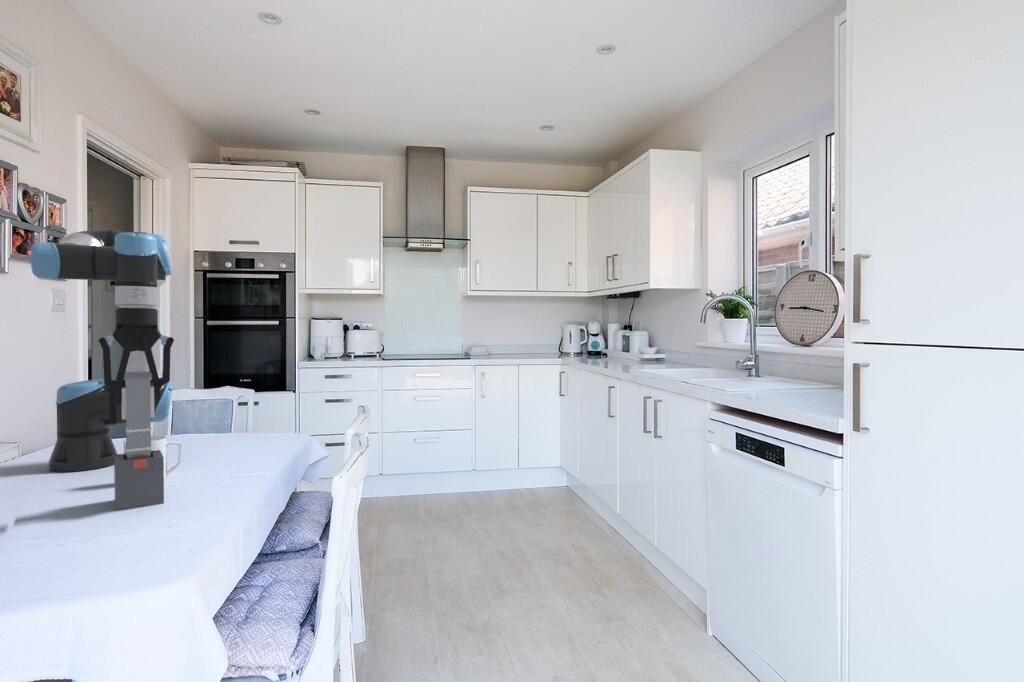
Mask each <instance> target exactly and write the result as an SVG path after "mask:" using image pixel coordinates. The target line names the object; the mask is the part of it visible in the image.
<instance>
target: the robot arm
mask: <svg viewBox="0 0 1024 682" xmlns="http://www.w3.org/2000/svg"><path fill="white" fill-rule="evenodd" d="M170 260H171V259H170V253H169V248H168V243H167V239H166V237H165V236H163V235H161V234H158V233H150V232H147V231H146V232H141V231H139V232H138V231H126V230H109V229H90V230H89V229H88V230H82V231H77V232H71V233H70V234H68V235H65V236H63V238H62V239H61V240H60V241H59V242H52V241H48V242H35V243H33V244H32V245H31V248H30V268H31V272H32V274H33V276H34V277H36V278H38V279H39V278H41V279H50V280H82V281H84V280H86V281H88V280H89V281H102V282H104V281H106V282H107V281H108V282H115V283H114V284H115V285H114V300H115V301H114V302H115V303H114V304H115V305H116V306H118V307H117V308H116V309H115V317H114V319H115V321H114V322H115V328H114V331H112V334H110V335H107V336H105V337H99V338H98V342H99V345H100V347H101V349H102V357H103V358H102V362H103V364H102V365H103V378H96V379H87V380H82V381H75V382H69V383H67V384H63V385H61V386H59V387H58V389H57V390H56V402H55V405H56V442H55V444H54V447H53V450H52V452H51V454H50V458H49V460H48V470H49V471H52V472H58V473H59V472H60V473H61V472H63V473H64V472H66V473H67V472H69V473H70V472H79V471H80V472H81V471H90V470H91V471H92V470H95V469H101V468H106V467H110V466H112V465H113V466H114V455H117V454H118V452H117V449H116V446H115V444H114V442H113V439H112V437H111V430H110V429H111V427H110V426H117V425H118V426H120V425H126V419H127V416H126V387H125V379H124V373H125V372H143V371H150V372H152V378H150V411H151V423H157V422H162V421H165V420H166V419H167V418H168V416H169V413H170V408H171V407H170V406H171V399H172V391H173V382H172V380H171V348H172V347H173V346H172V345H173V343H174V342H175V338H174V337H172V336H166V335H163V334H162V333H161V309H160V308H161V306H160V305H161V298H160V297H161V293H160V291H161V290H160V288H161V286H162V285H163V284H164V283H166V281H167V279H166V278H167V277H168V276H171V275H172V268H171V267H172V266H171V261H170ZM166 276H167V277H166ZM114 340H115V341H116V342H117V343H118V344H119V346H120V347H121V348H122V353H121V356H120V357H121V358H120V362H119V365H118V370H117V374H116V377H115V380H114V379H112V368H111V367H112V365H111V348H110V347H111V346H113V341H114ZM161 346H163V348H162V370H161Z"/></svg>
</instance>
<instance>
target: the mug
mask: <svg viewBox="0 0 1024 682" xmlns="http://www.w3.org/2000/svg"><path fill="white" fill-rule="evenodd" d="M167 439H168V437H167V436H166V435H163V434H162V435H161V434H160V435H159V434H157V435H156V434H154V435H153V434H151V451H155V450H160V451H161V453H162V455H163V459H164V480H165V479H167V478H168V475H169V474H170V473H171V472H172V471H174V470H176V469H177V468H178V467H179V466H180V464H181V459H182V458H181V457H182V454H181V453H182V442H178V441H170V442H168V440H167ZM170 445H177V446H178V458H177V463H176V464H175V465H173V466H172V467H171V468H169V469H168V452H167V448H168V447H169V446H170ZM123 454H126V438H125V439H124V440H123Z"/></svg>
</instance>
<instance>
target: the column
mask: <svg viewBox="0 0 1024 682" xmlns="http://www.w3.org/2000/svg"><path fill="white" fill-rule="evenodd" d="M150 378H152V372H150V371H143V372H125V373H124V379H125V387H126V416H127V419H126V424H125V428H124V429H125V439H126V460H129V459H138V458H147V457H151V435H152V432H151V431H152V427H151V426H152V425H151V424H152V422H151V411H150Z"/></svg>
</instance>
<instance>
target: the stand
mask: <svg viewBox="0 0 1024 682" xmlns="http://www.w3.org/2000/svg"><path fill="white" fill-rule="evenodd" d="M113 467H114V468H113V473H114V475H113V477H114V479H113V480H114V481H113V482H114V484H113V485H114V507H115V511H116V512H117V511H122V510H129V509H137V508H143V507H149V506H150V507H151V506H157V505H163V504H165V488H164V487H165V482H164V481H165V479H164V459H163V455H162V453H161V451H160V450H155V451H151V457H147V458H138V459H129V460H126V454H124V453H119V454H118V453H117V455H114V464H113Z"/></svg>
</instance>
